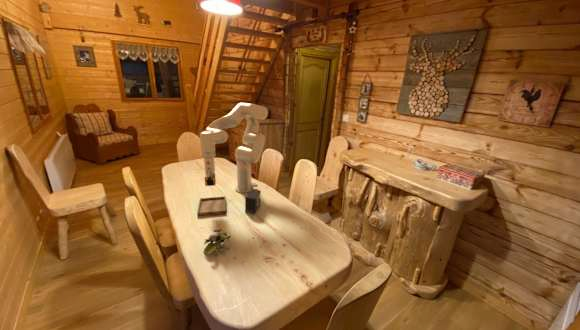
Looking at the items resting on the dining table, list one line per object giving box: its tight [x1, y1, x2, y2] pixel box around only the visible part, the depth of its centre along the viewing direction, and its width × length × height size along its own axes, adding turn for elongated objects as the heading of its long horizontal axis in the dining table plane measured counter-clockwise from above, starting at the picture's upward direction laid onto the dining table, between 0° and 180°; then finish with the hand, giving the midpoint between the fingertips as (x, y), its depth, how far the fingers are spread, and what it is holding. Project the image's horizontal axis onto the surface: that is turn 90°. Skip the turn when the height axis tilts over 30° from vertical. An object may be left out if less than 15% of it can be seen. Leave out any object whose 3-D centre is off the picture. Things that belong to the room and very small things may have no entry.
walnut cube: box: [204, 173, 216, 187], centre depth 138 cm, size 6×6×6 cm
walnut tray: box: [196, 196, 227, 217], centre depth 144 cm, size 16×18×2 cm
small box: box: [244, 189, 262, 215], centre depth 143 cm, size 11×6×10 cm, turn 168°
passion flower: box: [203, 228, 231, 255], centre depth 109 cm, size 11×11×12 cm
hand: (210, 182), depth 139 cm, fingers closed on walnut cube, 5 cm apart
